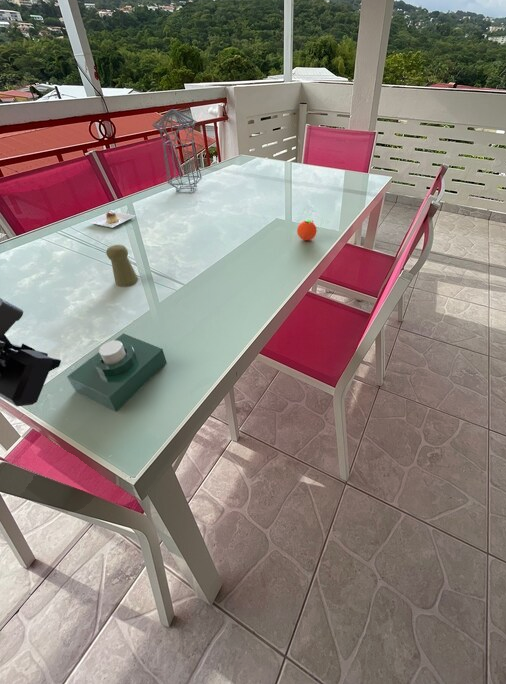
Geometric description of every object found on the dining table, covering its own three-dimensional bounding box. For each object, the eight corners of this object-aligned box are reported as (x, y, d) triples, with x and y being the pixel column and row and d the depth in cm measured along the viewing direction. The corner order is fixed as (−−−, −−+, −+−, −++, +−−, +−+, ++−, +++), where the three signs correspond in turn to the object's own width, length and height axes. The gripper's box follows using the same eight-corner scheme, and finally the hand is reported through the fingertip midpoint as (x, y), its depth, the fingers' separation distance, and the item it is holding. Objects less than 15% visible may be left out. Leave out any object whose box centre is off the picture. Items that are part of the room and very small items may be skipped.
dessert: (88, 225, 126) (84, 213, 123) (113, 213, 135) (109, 202, 133) (113, 230, 123) (109, 218, 120) (136, 218, 132) (133, 206, 129)
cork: (125, 288, 92) (113, 254, 86) (110, 283, 94) (97, 249, 88) (142, 278, 96) (132, 244, 90) (128, 273, 98) (116, 240, 92)
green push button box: (116, 411, 60) (105, 390, 57) (75, 390, 64) (62, 369, 60) (167, 362, 70) (160, 342, 66) (128, 347, 74) (120, 326, 70)
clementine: (305, 232, 123) (305, 214, 119) (321, 237, 120) (322, 218, 116) (293, 240, 117) (293, 222, 113) (309, 245, 114) (310, 226, 110)
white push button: (113, 367, 61) (109, 358, 60) (98, 360, 63) (93, 351, 61) (130, 353, 64) (126, 344, 63) (115, 347, 66) (111, 337, 64)
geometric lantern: (165, 195, 154) (146, 111, 134) (177, 184, 167) (161, 106, 147) (198, 196, 154) (185, 112, 134) (207, 185, 167) (196, 107, 147)
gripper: (-3, 314, 36) (114, 328, 50) (-91, 274, 42) (35, 296, 57) (-47, 416, 34) (86, 400, 49) (-132, 359, 41) (8, 360, 55)
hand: (52, 359), depth 52 cm, fingers open, 3 cm apart
